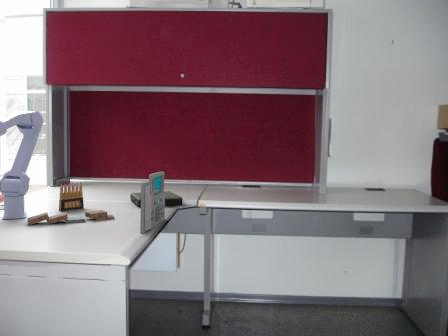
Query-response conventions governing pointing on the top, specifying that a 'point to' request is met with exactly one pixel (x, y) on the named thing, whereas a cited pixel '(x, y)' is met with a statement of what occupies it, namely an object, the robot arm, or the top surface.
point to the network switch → (170, 199)
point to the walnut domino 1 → (38, 218)
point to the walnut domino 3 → (96, 214)
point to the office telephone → (152, 202)
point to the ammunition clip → (71, 198)
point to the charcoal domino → (75, 220)
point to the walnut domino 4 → (105, 218)
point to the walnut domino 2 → (57, 218)
